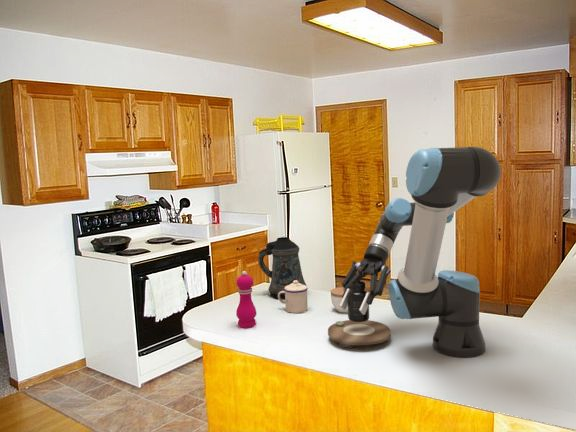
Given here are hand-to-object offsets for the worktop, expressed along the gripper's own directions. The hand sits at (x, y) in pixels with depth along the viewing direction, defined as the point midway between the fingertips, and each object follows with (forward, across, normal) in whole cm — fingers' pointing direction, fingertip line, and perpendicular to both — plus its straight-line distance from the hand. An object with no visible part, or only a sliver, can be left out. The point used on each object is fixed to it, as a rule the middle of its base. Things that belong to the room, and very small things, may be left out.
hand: (352, 310), depth 157 cm
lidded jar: (-10, +21, -26) cm, 34 cm away
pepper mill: (+14, +40, -2) cm, 42 cm away
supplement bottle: (0, 0, -6) cm, 6 cm away
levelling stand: (+5, 0, -10) cm, 11 cm away
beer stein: (-11, +54, -27) cm, 61 cm away
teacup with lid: (-2, +38, -18) cm, 42 cm away
